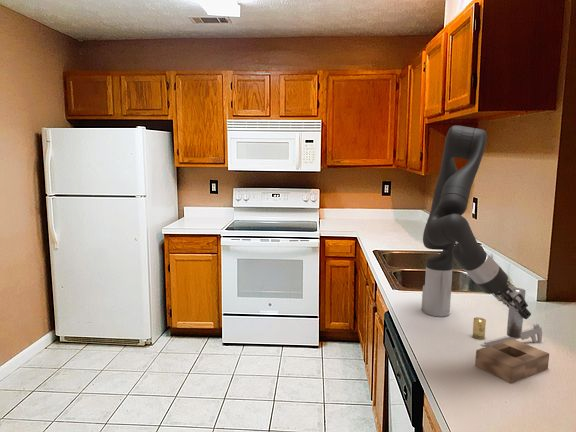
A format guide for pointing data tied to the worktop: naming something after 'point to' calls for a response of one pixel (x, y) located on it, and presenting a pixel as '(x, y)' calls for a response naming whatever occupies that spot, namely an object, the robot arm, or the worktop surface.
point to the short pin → (479, 328)
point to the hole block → (512, 360)
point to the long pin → (515, 318)
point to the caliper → (525, 335)
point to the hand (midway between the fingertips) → (522, 313)
